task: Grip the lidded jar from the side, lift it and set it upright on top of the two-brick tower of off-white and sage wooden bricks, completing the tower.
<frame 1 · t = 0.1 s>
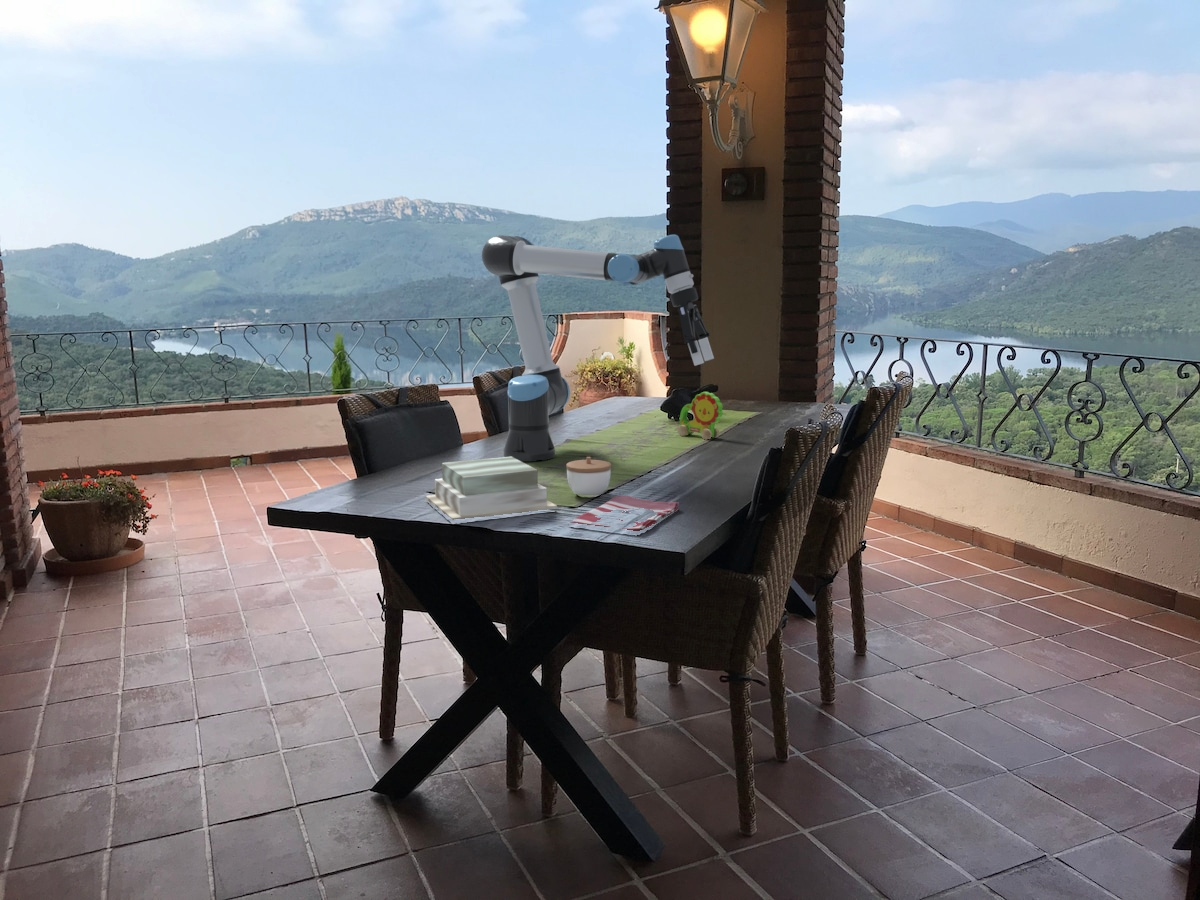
hand: (704, 362, 250), 28 cm above the table, tool tilted 20°, fingers open, 13 cm apart
toy lion: (700, 438, 289), on the table
lidded jar: (588, 496, 212), on the table
dish towel: (625, 521, 192), on the table
brick tower: (489, 506, 202), on the table
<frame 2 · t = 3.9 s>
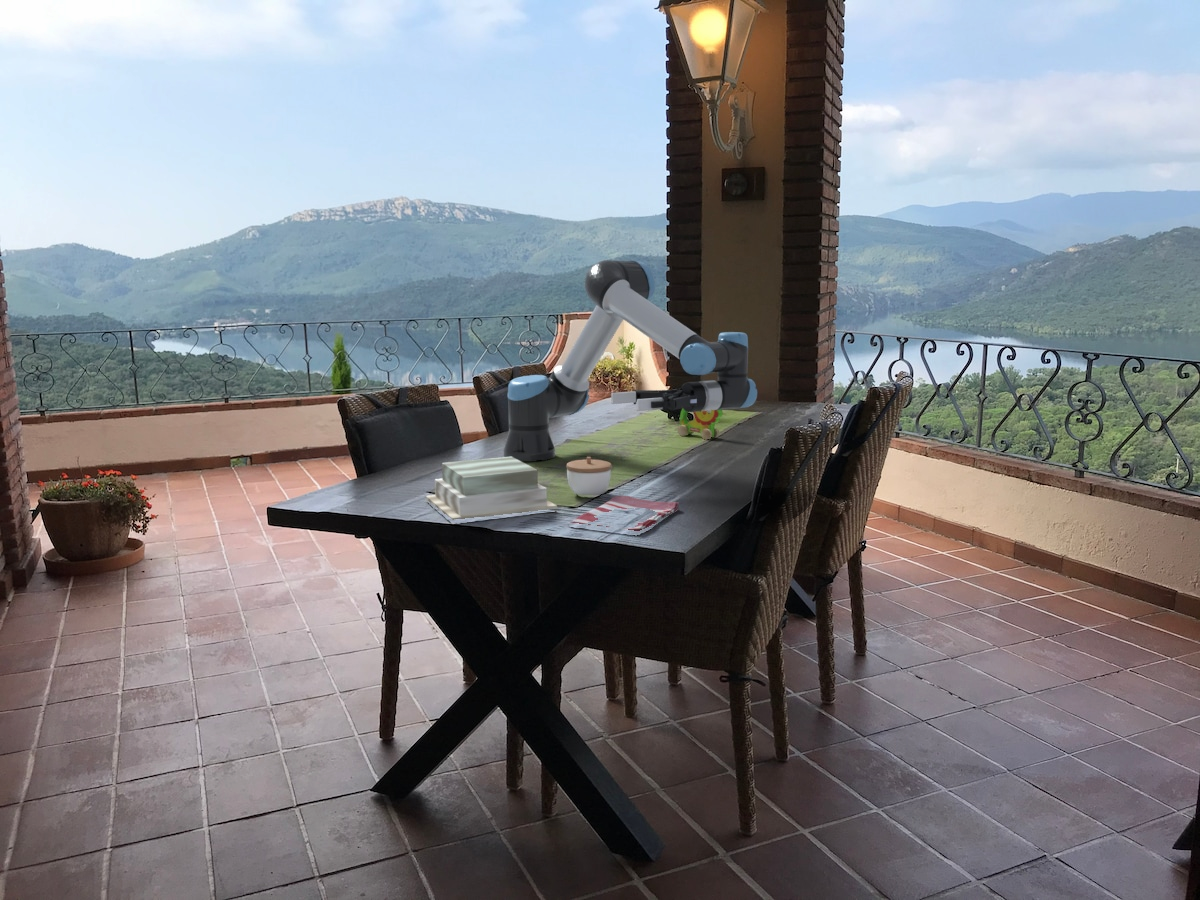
hand: (624, 401, 212), 22 cm above the table, tool horizontal, fingers open, 13 cm apart
nothing on the table moved.
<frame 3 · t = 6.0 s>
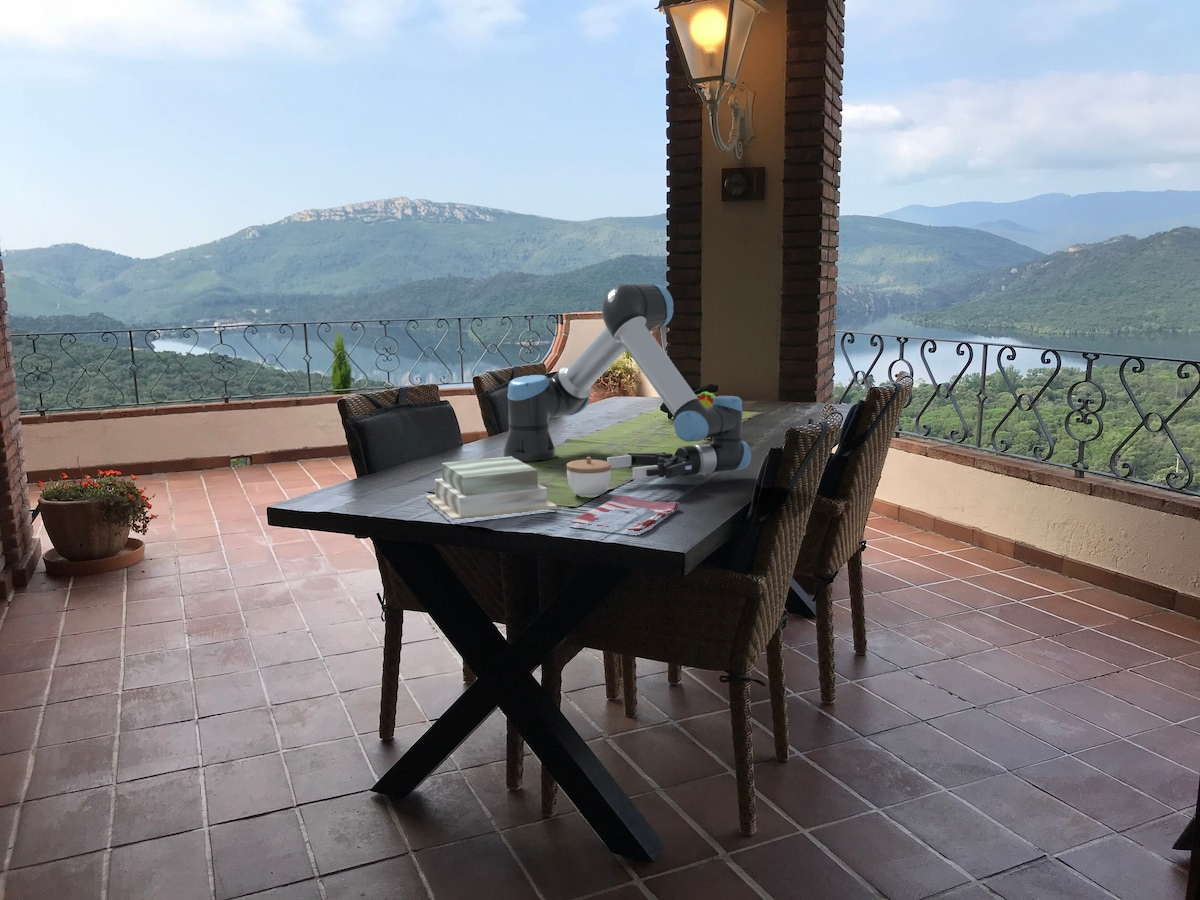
hand: (619, 468, 214), 6 cm above the table, tool horizontal, fingers open, 13 cm apart
nothing on the table moved.
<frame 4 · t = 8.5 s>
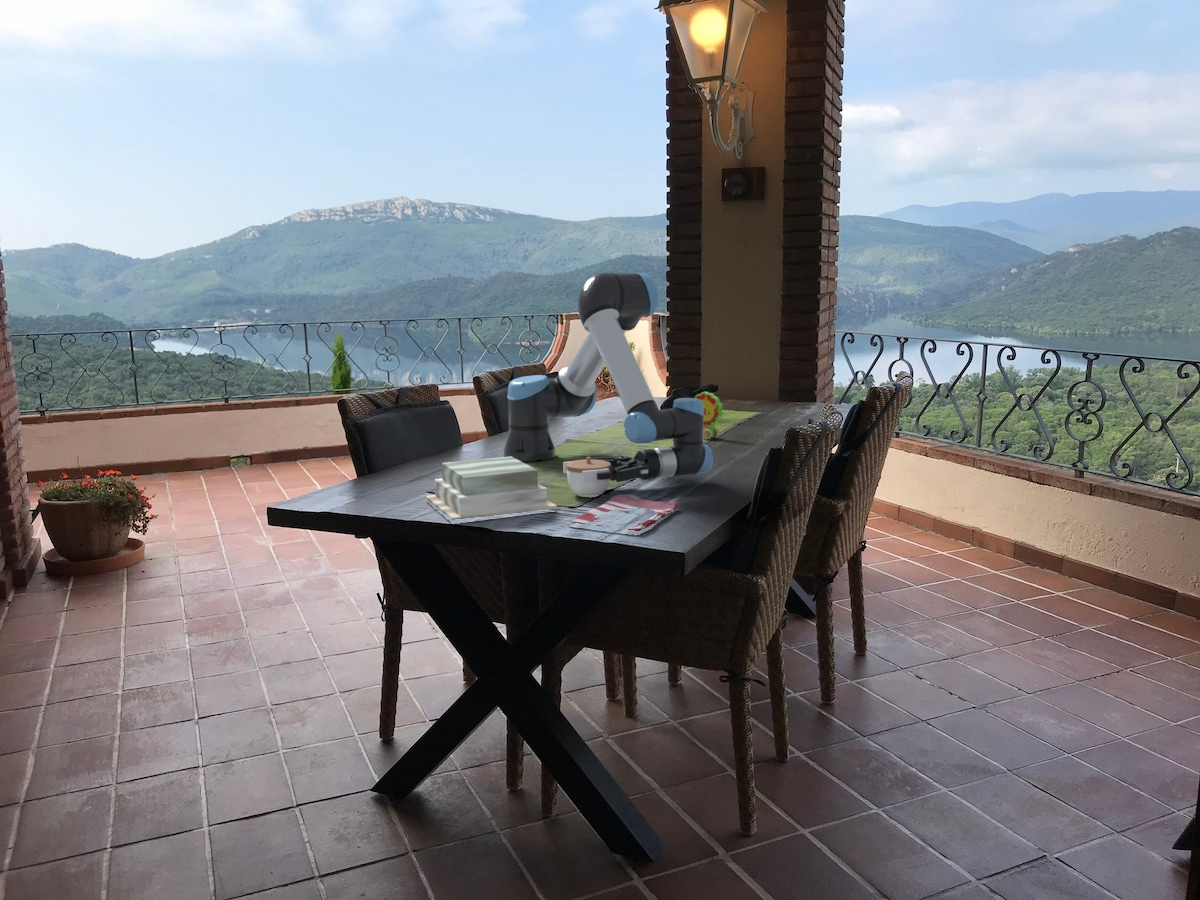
hand: (573, 472, 209), 6 cm above the table, tool horizontal, fingers closed on lidded jar, 11 cm apart
lidded jar: (588, 496, 212), on the table, touching gripper
everything else where it was.
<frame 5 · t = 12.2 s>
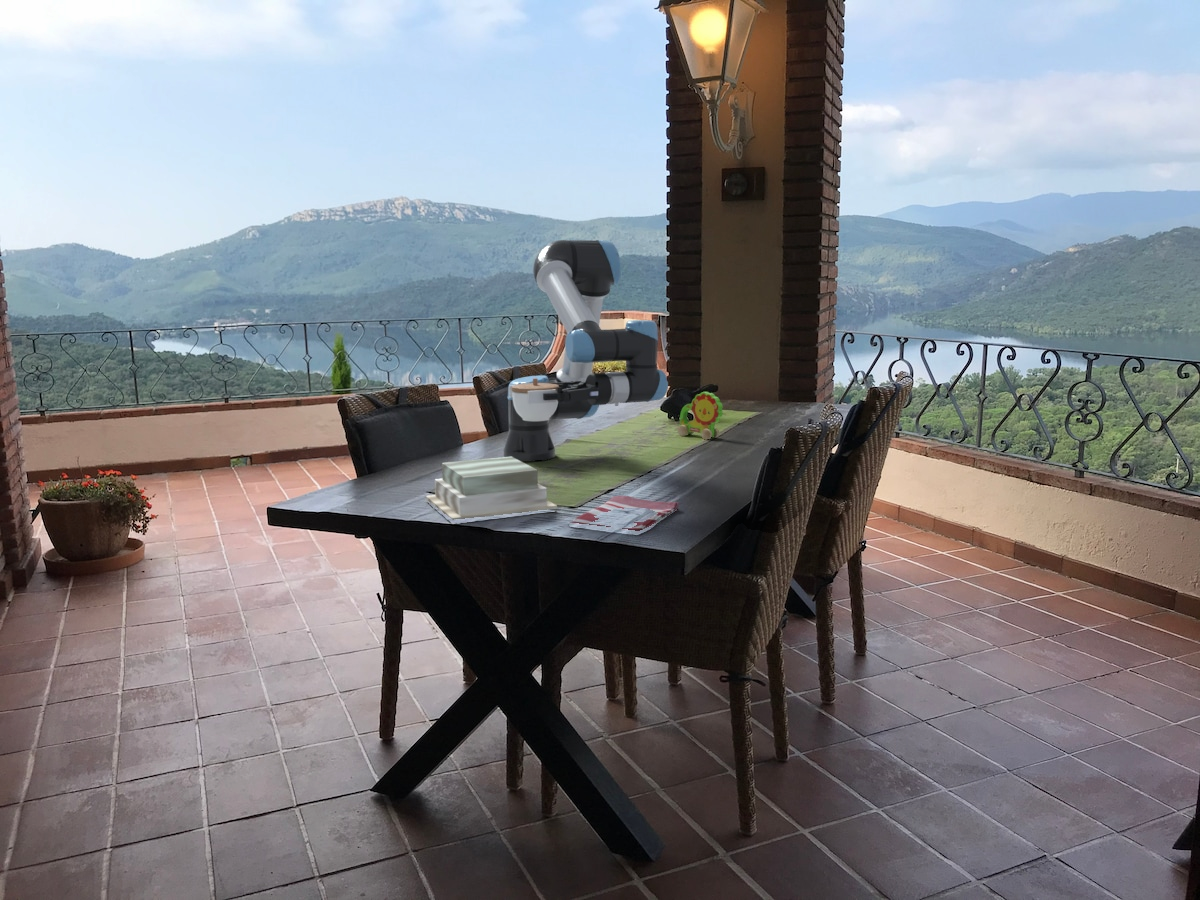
hand: (518, 394, 198), 26 cm above the table, tool horizontal, fingers closed on lidded jar, 11 cm apart
lidded jar: (536, 420, 201), point 20 cm above the table, touching gripper
everything else where it was.
when the fingers open (17 cm above the table, at t = 16.2 s): lidded jar drops 1 cm, resting on brick tower.
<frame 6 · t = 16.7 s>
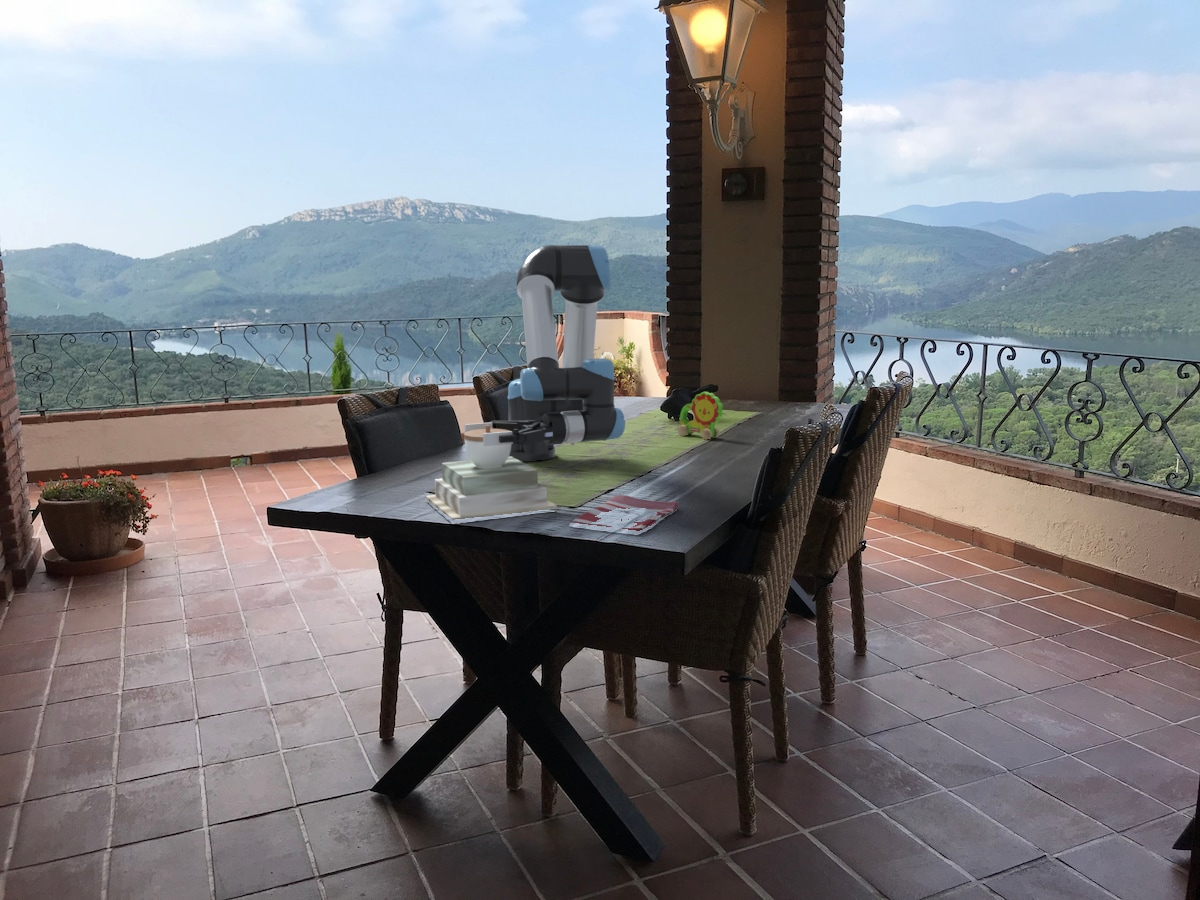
hand: (473, 434, 197), 17 cm above the table, tool horizontal, fingers open, 13 cm apart
lidded jar: (488, 467, 200), point 9 cm above the table, touching brick tower
everything else where it was.
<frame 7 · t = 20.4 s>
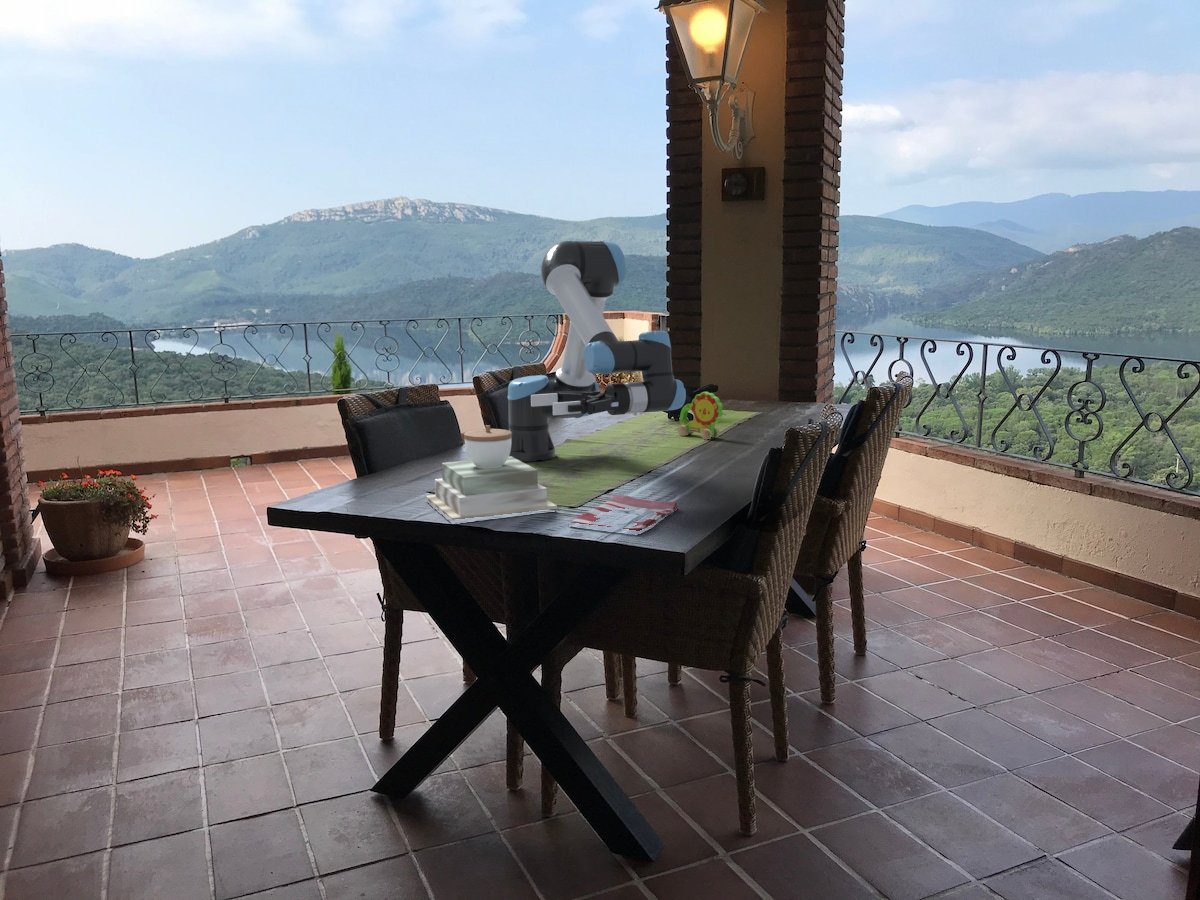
hand: (541, 404, 202), 23 cm above the table, tool horizontal, fingers open, 13 cm apart
nothing on the table moved.
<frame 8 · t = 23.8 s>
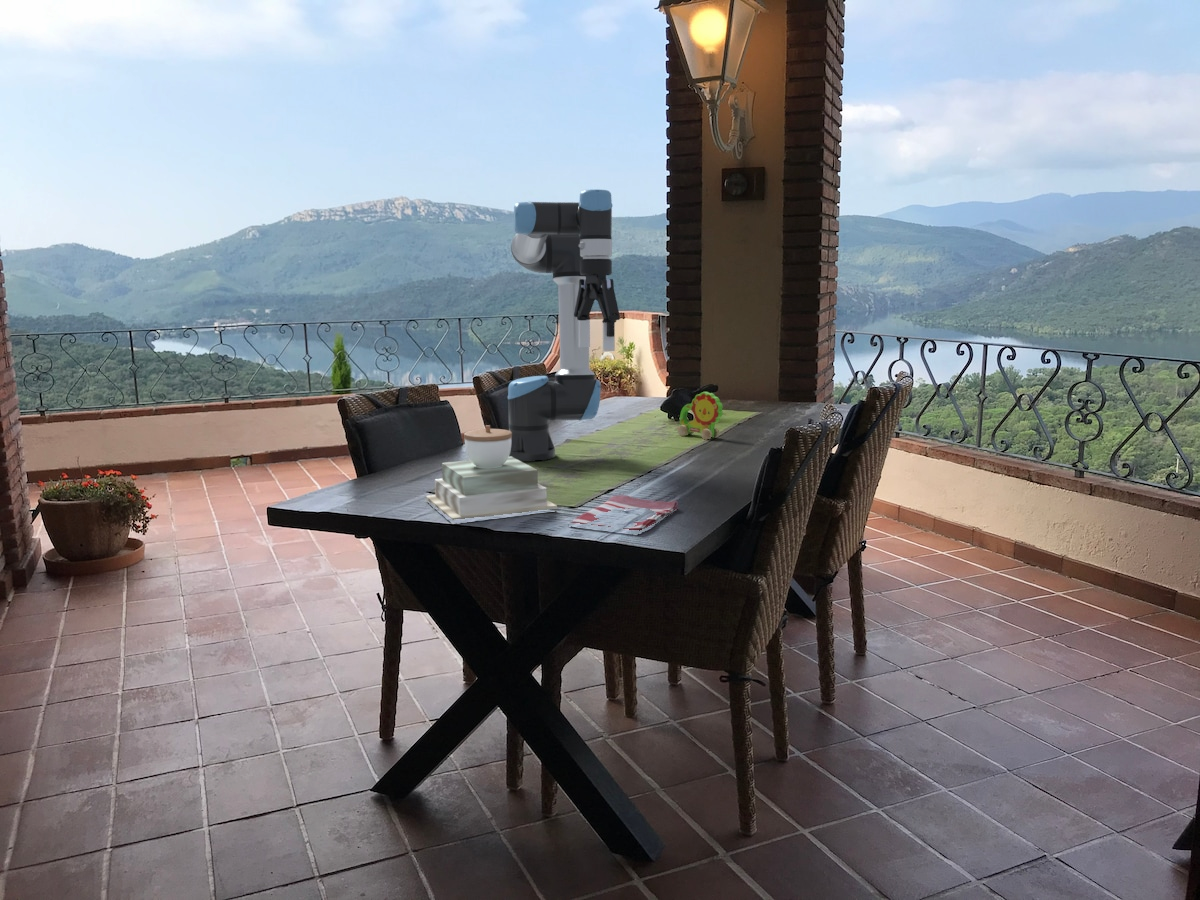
hand: (596, 349, 211), 35 cm above the table, tool pointing down, fingers open, 13 cm apart
nothing on the table moved.
at the end: lidded jar inside the target area on the brick tower (0.1 cm from its centre), point 9.3 cm above the brick tower's base; lidded jar tilted 0°; the gripper is holding nothing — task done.
